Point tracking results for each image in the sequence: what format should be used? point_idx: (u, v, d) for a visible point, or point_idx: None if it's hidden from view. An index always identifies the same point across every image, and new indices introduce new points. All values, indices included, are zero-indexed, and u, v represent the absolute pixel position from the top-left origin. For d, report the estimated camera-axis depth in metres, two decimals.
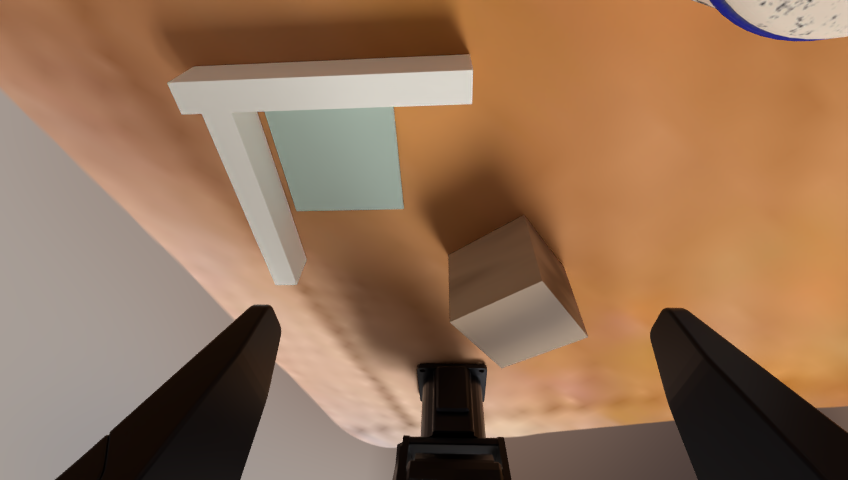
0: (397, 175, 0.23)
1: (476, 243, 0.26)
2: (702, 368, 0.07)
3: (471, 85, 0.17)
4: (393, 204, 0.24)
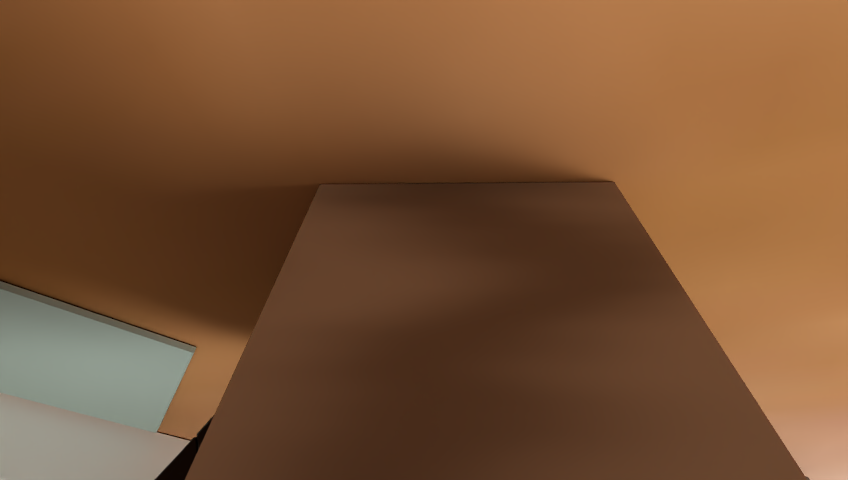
0: (104, 326, 0.11)
1: None
2: None
3: None
4: (175, 357, 0.12)
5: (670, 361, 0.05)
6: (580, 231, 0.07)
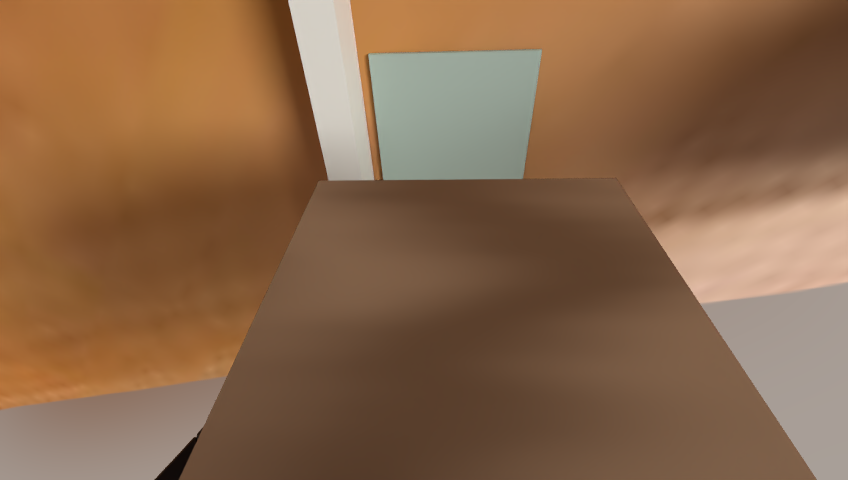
0: (479, 56, 0.16)
1: None
2: None
3: None
4: (529, 66, 0.16)
5: (675, 358, 0.05)
6: (582, 227, 0.07)
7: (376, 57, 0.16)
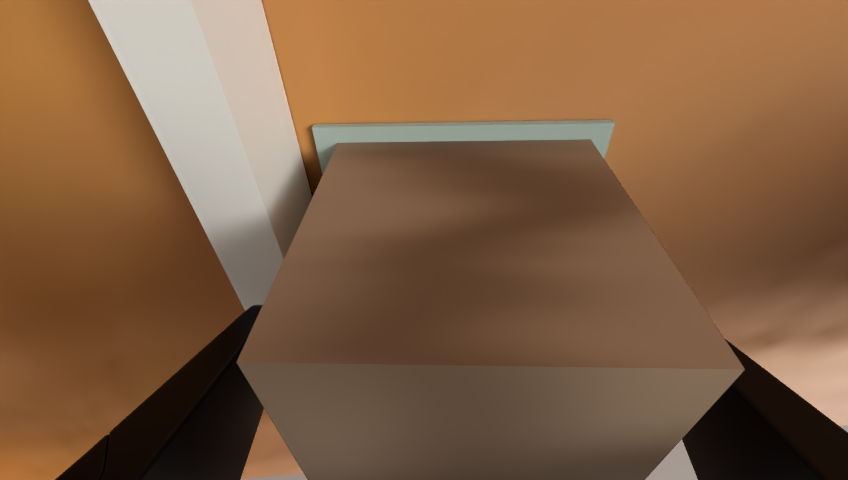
0: (505, 131, 0.09)
1: None
2: None
3: None
4: None
5: (623, 257, 0.06)
6: (559, 174, 0.08)
7: (326, 131, 0.09)
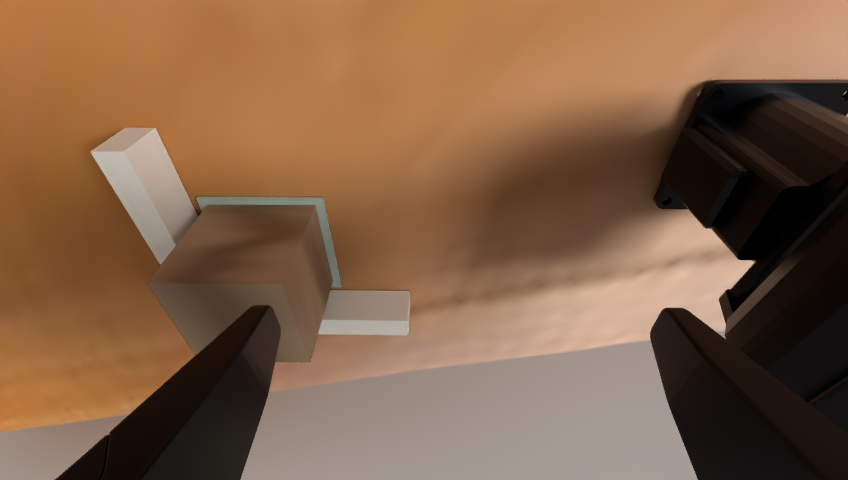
0: (278, 201, 0.21)
1: None
2: (702, 368, 0.07)
3: (105, 152, 0.17)
4: (317, 208, 0.21)
5: (279, 254, 0.18)
6: (287, 222, 0.20)
7: (202, 199, 0.21)
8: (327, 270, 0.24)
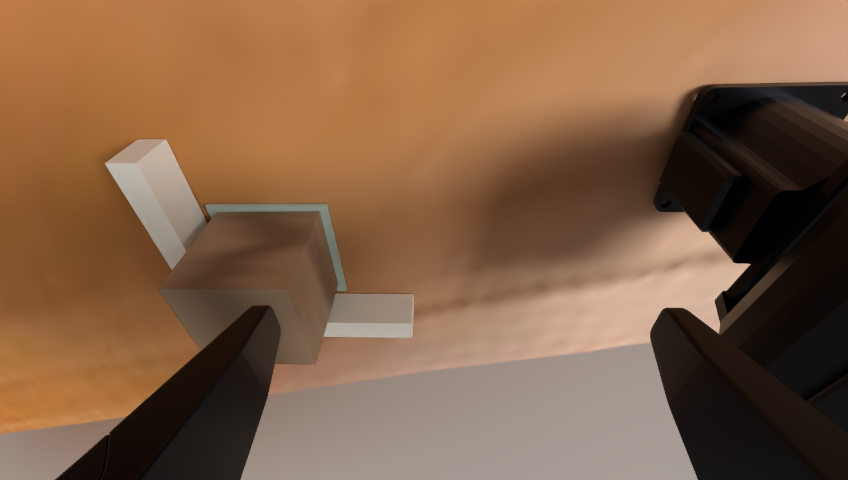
0: (283, 208, 0.22)
1: None
2: (702, 368, 0.07)
3: (119, 164, 0.18)
4: (321, 214, 0.22)
5: (284, 260, 0.19)
6: (292, 228, 0.21)
7: (211, 207, 0.22)
8: (332, 274, 0.24)
